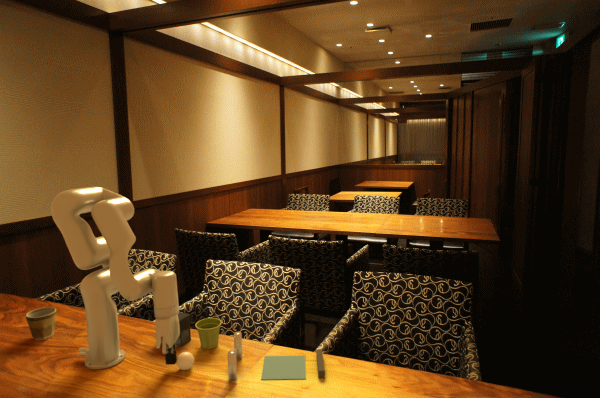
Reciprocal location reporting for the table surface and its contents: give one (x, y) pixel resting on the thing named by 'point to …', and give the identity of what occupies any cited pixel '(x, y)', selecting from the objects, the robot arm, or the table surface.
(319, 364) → the wall
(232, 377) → the post
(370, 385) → the table surface
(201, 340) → the plant pot
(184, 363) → the ball
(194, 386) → the table surface
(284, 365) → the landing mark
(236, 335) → the post
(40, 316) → the ceramic cup
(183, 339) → the small box
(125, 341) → the table surface
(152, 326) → the table surface
